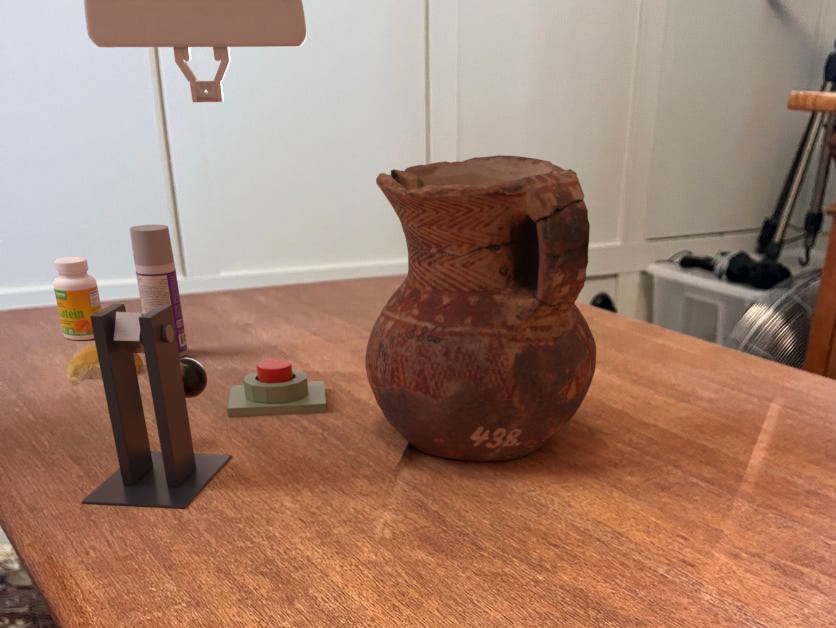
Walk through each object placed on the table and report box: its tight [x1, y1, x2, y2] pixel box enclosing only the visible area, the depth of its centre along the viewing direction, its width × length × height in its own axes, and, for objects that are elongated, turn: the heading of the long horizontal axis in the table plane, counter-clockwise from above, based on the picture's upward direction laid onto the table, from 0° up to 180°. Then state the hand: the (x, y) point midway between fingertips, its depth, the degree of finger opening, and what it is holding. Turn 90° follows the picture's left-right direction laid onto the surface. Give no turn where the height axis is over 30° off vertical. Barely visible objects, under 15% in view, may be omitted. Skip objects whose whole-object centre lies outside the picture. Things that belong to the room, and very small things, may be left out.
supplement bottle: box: [52, 256, 103, 341], centre depth 133 cm, size 5×5×10 cm
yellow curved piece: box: [66, 344, 144, 386], centre depth 118 cm, size 8×9×4 cm
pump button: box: [256, 359, 293, 383], centre depth 106 cm, size 4×4×2 cm
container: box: [129, 224, 189, 358], centre depth 124 cm, size 5×5×15 cm
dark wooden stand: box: [81, 303, 233, 510], centre depth 86 cm, size 12×9×16 cm
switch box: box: [226, 368, 328, 418], centre depth 107 cm, size 10×8×4 cm
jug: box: [364, 154, 597, 463], centre depth 95 cm, size 22×21×25 cm
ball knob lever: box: [114, 311, 208, 399], centre depth 88 cm, size 14×4×4 cm
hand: (208, 102), depth 99 cm, fingers closed
